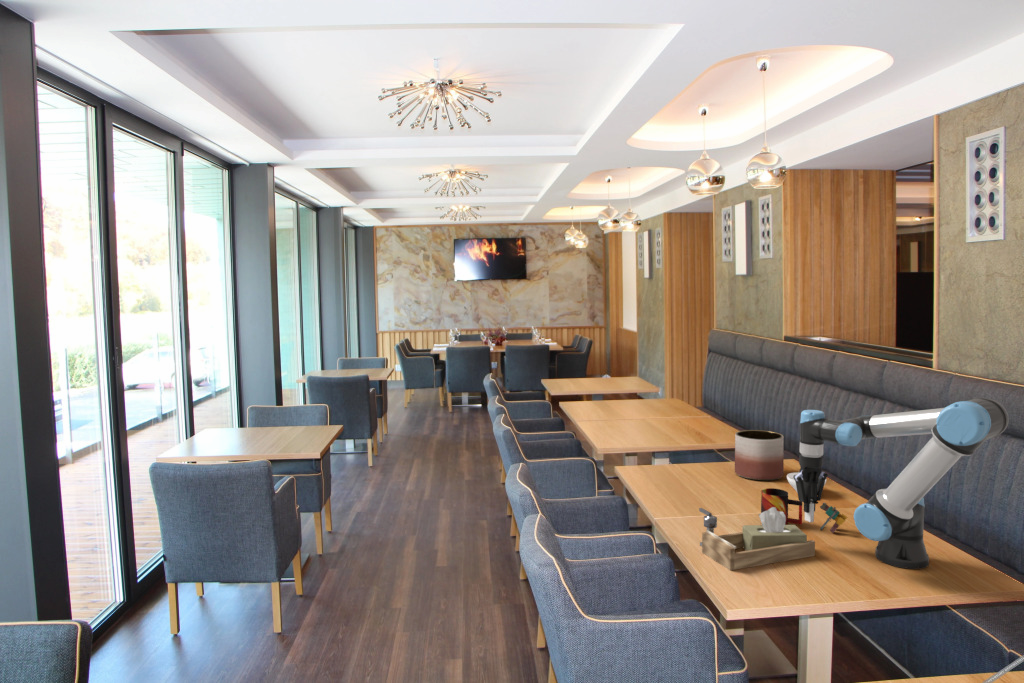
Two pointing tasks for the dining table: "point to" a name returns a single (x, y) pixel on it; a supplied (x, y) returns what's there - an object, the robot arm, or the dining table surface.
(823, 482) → the robot arm
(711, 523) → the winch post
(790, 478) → the bowl
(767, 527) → the tissue box
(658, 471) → the dining table surface
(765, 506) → the mug
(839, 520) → the binoculars
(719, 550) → the bay
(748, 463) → the planter
